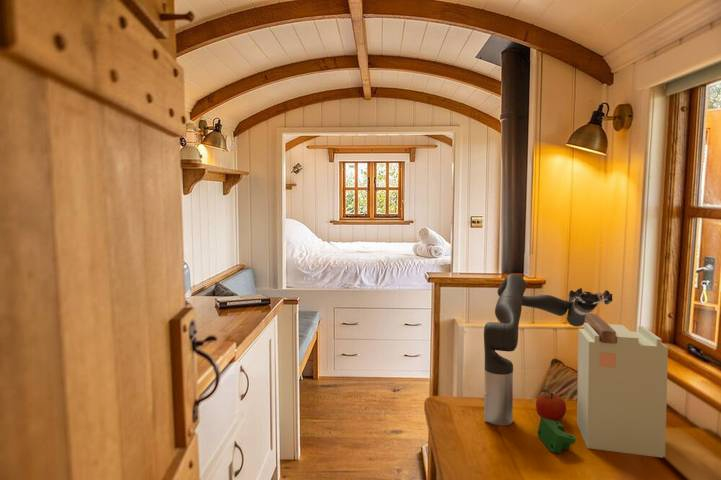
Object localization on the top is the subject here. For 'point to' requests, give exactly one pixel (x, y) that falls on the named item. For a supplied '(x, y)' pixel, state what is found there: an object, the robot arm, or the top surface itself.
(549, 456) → the top surface
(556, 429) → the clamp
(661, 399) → the rail stand
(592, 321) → the walnut bar
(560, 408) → the fruit
